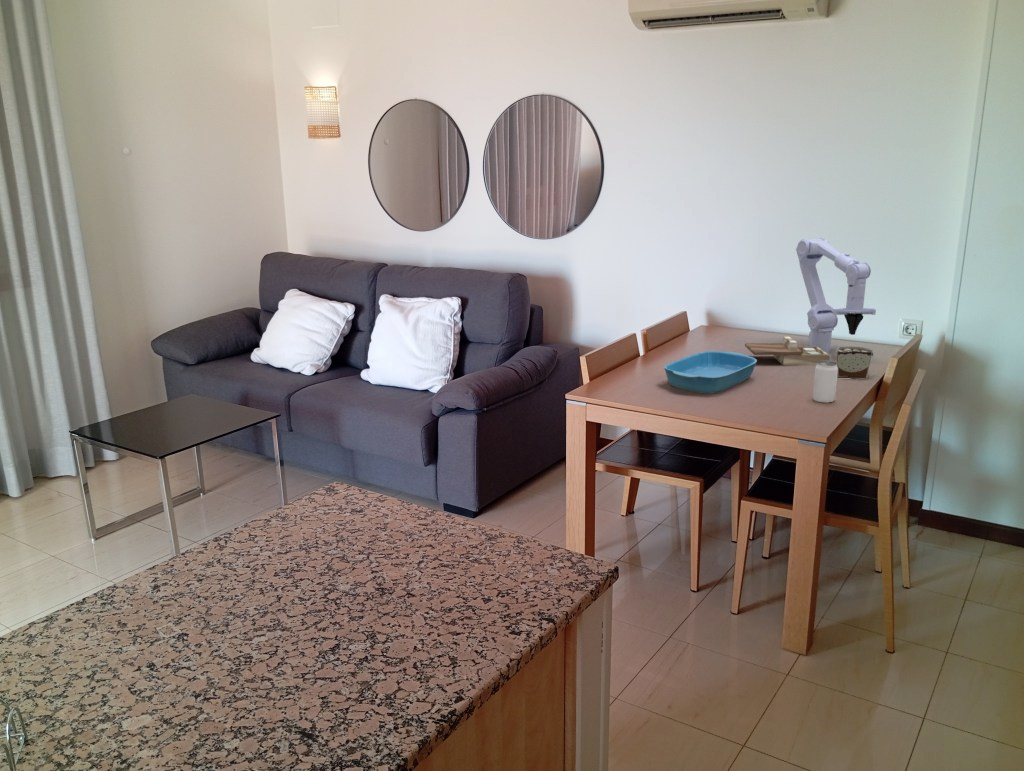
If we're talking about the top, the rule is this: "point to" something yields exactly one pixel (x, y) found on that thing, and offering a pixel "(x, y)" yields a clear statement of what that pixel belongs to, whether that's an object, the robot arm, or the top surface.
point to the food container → (853, 361)
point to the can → (825, 381)
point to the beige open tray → (803, 358)
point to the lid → (775, 348)
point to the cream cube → (808, 350)
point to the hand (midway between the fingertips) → (852, 334)
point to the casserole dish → (710, 371)
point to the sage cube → (812, 353)
